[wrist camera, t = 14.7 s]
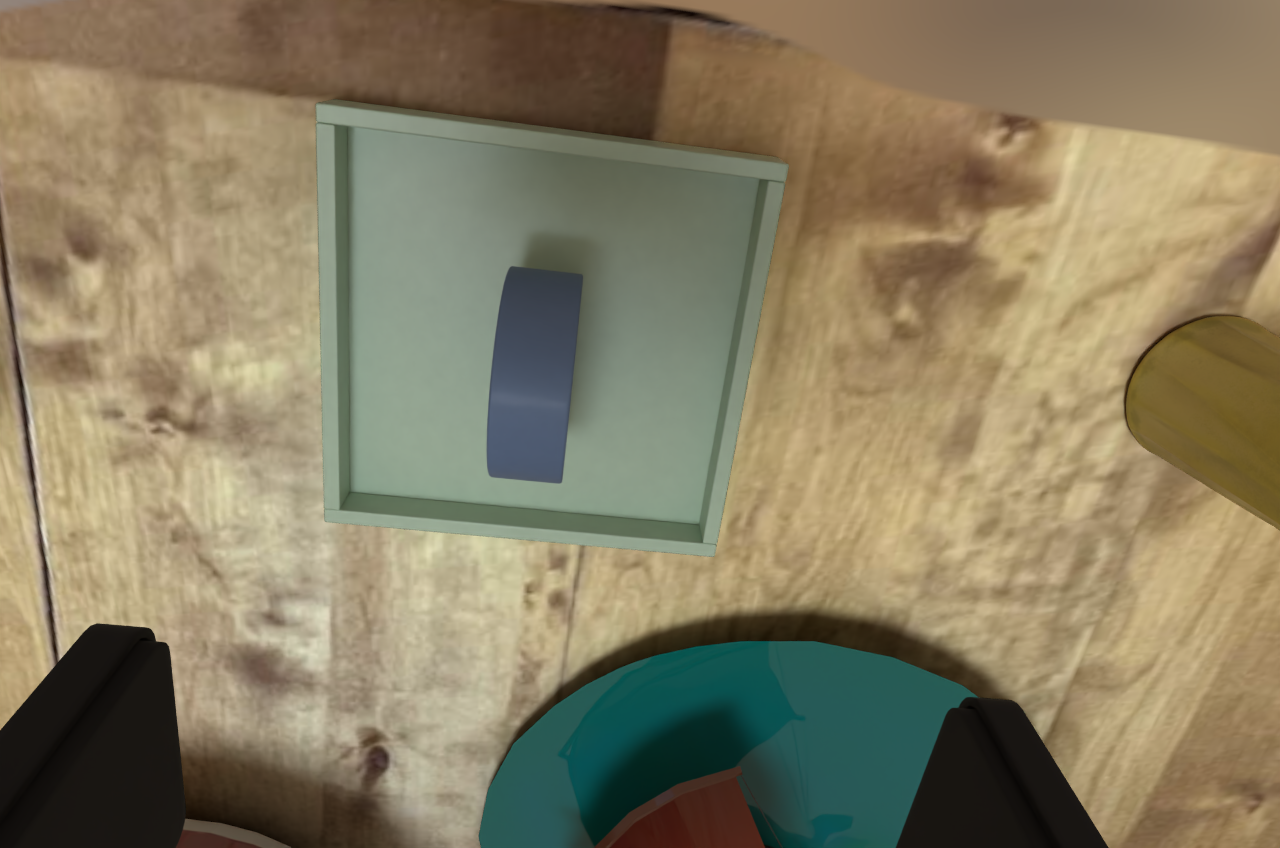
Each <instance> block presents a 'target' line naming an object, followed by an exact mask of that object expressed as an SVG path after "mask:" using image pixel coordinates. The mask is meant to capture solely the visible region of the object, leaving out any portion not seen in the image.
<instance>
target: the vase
mask: <svg viewBox="0 0 1280 848" xmlns="http://www.w3.org/2000/svg"><path fill="white" fill-rule="evenodd" d="M1126 414H1127V421H1128V425H1129V428H1130V430H1131V432H1132V433H1133V435H1134V437H1135V438H1136V439H1137V441H1138V442H1139V443H1140V444H1141V445H1142V446H1143V447H1144V448H1145V449H1146V450H1148V451H1149V452H1151V453H1153V454H1155V455H1157V456H1159V457H1161V458H1163V459H1164V460H1166V461H1167V462H1169V463H1171V464H1172V465H1174V466H1175V467H1177V468H1179V469H1180V470H1182V471H1184V472H1185V473H1187V474H1189V475H1190V476H1192V477H1193V478H1195V479H1197V480H1198V481H1200V482H1202V483H1203V484H1205V485H1206V486H1208V487H1209V488H1211V489H1213V490H1214V491H1216V492H1218V493H1219V494H1221V495H1223V496H1224V497H1226V498H1227V499H1229V500H1231V501H1232V502H1234V503H1236V504H1237V505H1239V506H1240V507H1242V508H1244V509H1245V510H1247V511H1249V512H1250V513H1252V514H1254V515H1255V516H1257V517H1259V518H1260V519H1262V520H1264V521H1265V522H1267V523H1269V524H1271V525H1272V526H1274V527H1276V528H1277V529H1278V530H1280V337H1278V336H1276V335H1274V334H1272V333H1271V332H1269V331H1267V330H1266V329H1265V328H1264V327H1262V326H1261V325H1259V324H1258V323H1256V322H1254V321H1251V320H1249V319H1246V318H1242V317H1235V316H1213V317H1208V318H1204V319H1201V320H1197V321H1195V322H1192V323H1190V324H1187V325H1185V326H1183V327H1181V328H1179V329H1177V330H1175V331H1173V332H1172V333H1170V334H1168V335H1167V336H1166V337H1165V338H1163V339H1162V340H1161V341H1160V342H1159V343H1157V344H1156V345H1155V346H1154V347H1153V348H1152V349H1151V350H1150V351H1149V352H1148V353H1147V355H1146V356H1145V357H1144V358H1143V360H1142V361H1141V363H1140V364H1139V366H1138V367H1137V369H1136V371H1135V373H1134V375H1133V377H1132V379H1131V382H1130V384H1129V388H1128V392H1127V399H1126Z"/></svg>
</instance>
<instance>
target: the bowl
mask: <svg viewBox="0 0 1280 848" xmlns="http://www.w3.org/2000/svg"><path fill="white" fill-rule="evenodd" d="M176 848H291V847H290V846H288V845H285V844H283V843H281V842H278V841H276V840H273V839H271V838H269V837H266V836H264V835H262V834H259V833H257V832H253V831H249V830H245V829H242V828H238V827H234V826H230V825H226V824H223V823H215V822H208V821H200V820H192V819H185V823H184V827H183V831H182V834H181V837H180V840H179V842H178V844H177V846H176Z"/></svg>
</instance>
